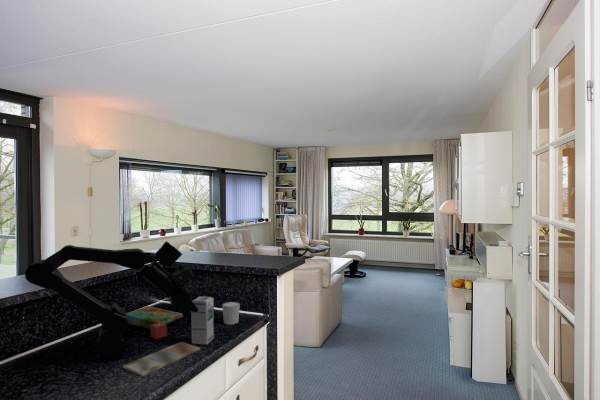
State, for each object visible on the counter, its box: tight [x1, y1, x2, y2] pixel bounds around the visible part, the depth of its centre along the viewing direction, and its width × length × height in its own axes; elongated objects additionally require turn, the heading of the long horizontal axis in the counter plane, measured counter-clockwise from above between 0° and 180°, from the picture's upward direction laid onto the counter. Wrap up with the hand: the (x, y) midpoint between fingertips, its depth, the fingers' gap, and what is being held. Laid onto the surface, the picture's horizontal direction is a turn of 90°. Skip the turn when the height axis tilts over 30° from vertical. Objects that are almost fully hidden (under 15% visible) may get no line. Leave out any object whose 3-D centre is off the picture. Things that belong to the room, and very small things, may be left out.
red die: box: [150, 322, 168, 340], centre depth 129 cm, size 4×4×4 cm
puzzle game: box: [126, 305, 184, 330], centre depth 142 cm, size 12×5×20 cm
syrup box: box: [190, 296, 215, 345], centre depth 125 cm, size 6×6×14 cm
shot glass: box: [221, 301, 241, 325], centre depth 144 cm, size 7×7×7 cm
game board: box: [122, 341, 201, 377], centre depth 112 cm, size 21×9×1 cm, turn 148°
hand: (194, 307), depth 124 cm, fingers open, 9 cm apart
